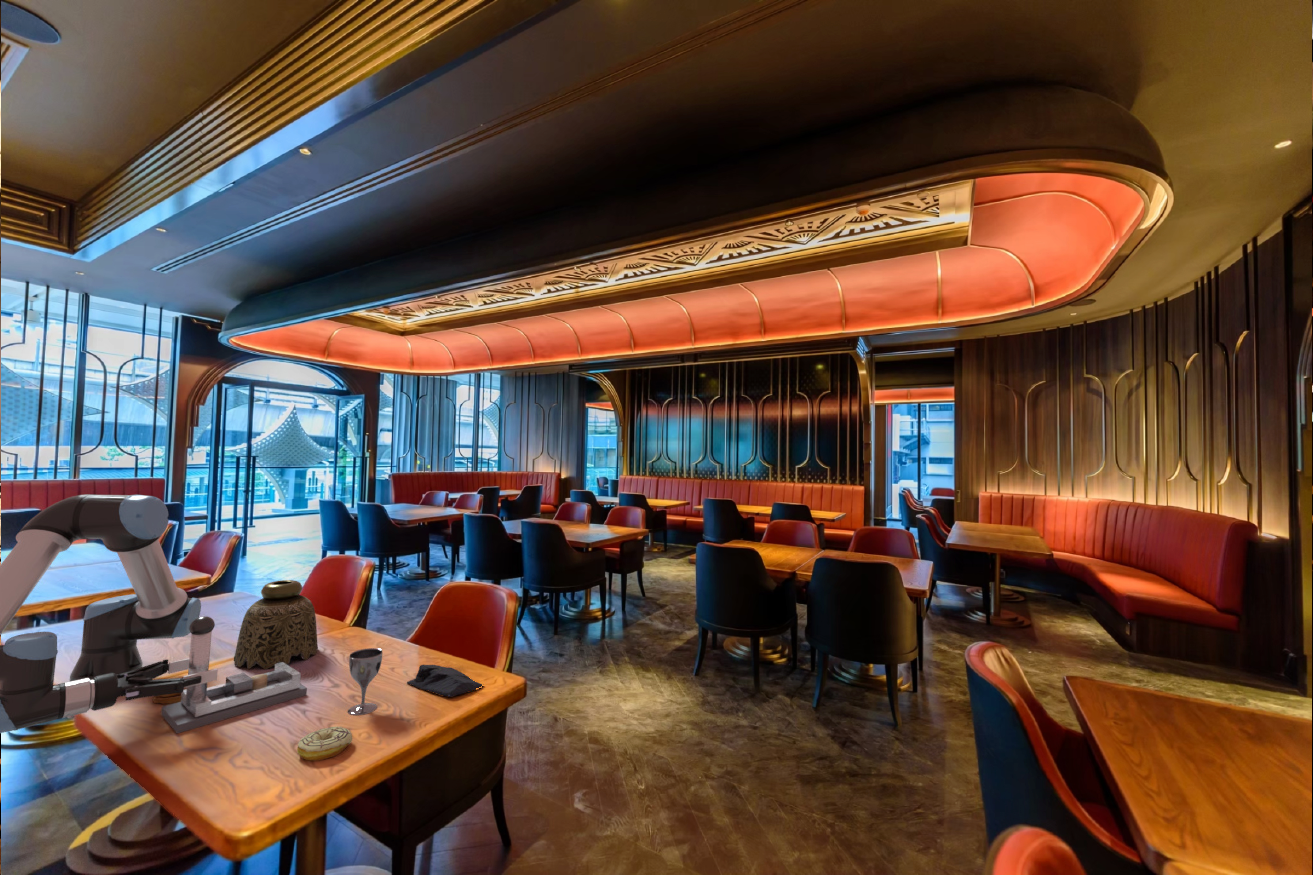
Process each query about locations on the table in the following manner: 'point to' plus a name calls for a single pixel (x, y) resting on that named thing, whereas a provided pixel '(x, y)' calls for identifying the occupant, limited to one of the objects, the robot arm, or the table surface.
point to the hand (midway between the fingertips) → (208, 667)
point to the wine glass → (364, 675)
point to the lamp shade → (277, 627)
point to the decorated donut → (324, 743)
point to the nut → (259, 681)
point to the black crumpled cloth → (443, 680)
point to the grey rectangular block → (238, 684)
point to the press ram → (199, 694)
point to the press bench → (186, 721)
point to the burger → (168, 698)
